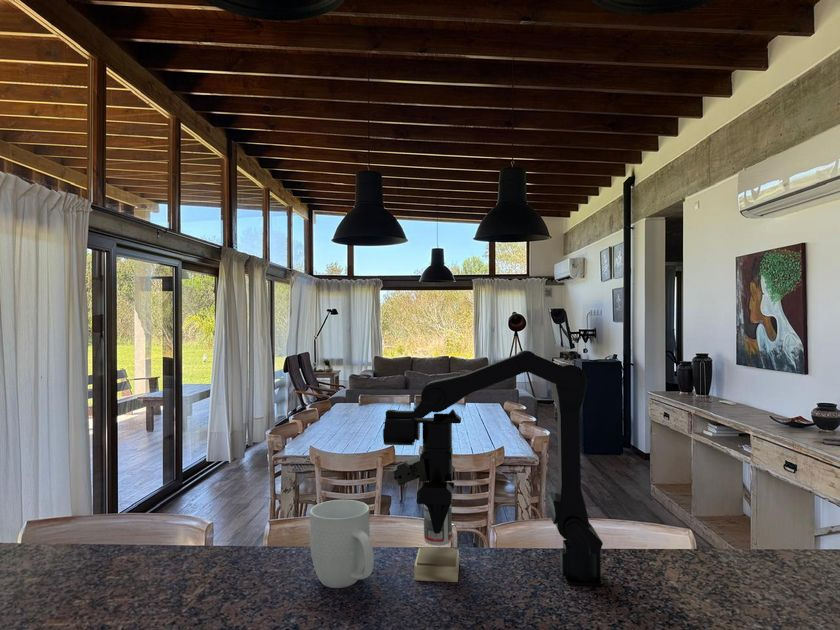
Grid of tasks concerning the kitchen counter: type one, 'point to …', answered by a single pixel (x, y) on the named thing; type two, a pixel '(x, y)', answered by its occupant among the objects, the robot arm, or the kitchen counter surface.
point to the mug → (341, 542)
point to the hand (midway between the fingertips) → (438, 527)
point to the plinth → (437, 564)
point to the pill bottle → (446, 530)
